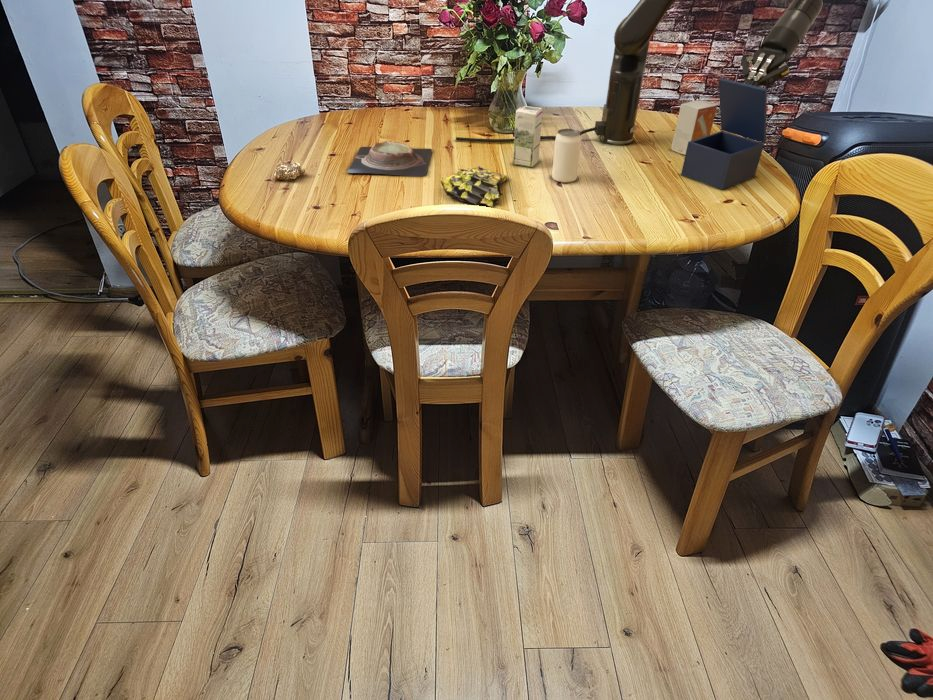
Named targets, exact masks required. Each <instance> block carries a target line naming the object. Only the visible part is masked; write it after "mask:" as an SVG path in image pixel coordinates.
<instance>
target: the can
mask: <svg viewBox="0 0 933 700" xmlns="http://www.w3.org/2000/svg"><path fill="white" fill-rule="evenodd" d="M580 132H581V131H580V130H578V129H575V128H560V129H558V130H557V134H556V135H555V136H556V139H554V150H553V160H552V161H553V162H552V169H551V170H552V171H551V178H552V179H553V180H554V181H555V182H558V183H561V184H570V183H574V182H575V181H576V180H577V179H578V171H579V164H580V155H581V147H582V146H581V145H582V137H581V136H582V135H581V136H580Z"/></svg>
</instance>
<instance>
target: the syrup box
mask: <svg viewBox="0 0 933 700" xmlns="http://www.w3.org/2000/svg"><path fill="white" fill-rule="evenodd" d="M542 120H543V107H536V106H529V105H521V106H520V107H518V108H517V109H516V110H515V120H514V137H513V139H514V142H513V159H512V164H513V165H515V166H520V167H525V168H534V166H536V164H538V163H539V160H540V148H541V147H540V146H541V140H540V136H542V135H541V134H542V133H541V132H542V122H543V121H542Z"/></svg>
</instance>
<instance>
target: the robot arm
mask: <svg viewBox="0 0 933 700" xmlns="http://www.w3.org/2000/svg"><path fill="white" fill-rule="evenodd" d="M676 2H677V0H639V1H638V2H637V4H635V6H634V7H633V9H632V10H631V11H630V12H629V13H628V15H627V16H625V17H624V18H622V20H621V21H620V22H619V24H618V26H617V27H616V29H615V32H614V36H613V43H614V50H613V57H612V63H611V66H610V70H609V76H608V77H609V78H608V86H607V91H606V93H607V94H606V101H605V103H604V104H603V108H602V109H603V110H602V116H601V120H596V121H595V124H594V126H593V127H590V128H587V129H584V130H581V131H580V136H582V135H584V134H586V133H590V132H594V133H595V135H596V136H597V137H599V138H600V140H601V142H602V143H603V144H610V145H617V146H623V145H624V146H625V145H629V144H631V143H633V141H634V135H635V133H634V132H635V131H636V130H637V125H636V122H637V115H638V110H639V104H640V97H641V91H642V86H643V80H644V74H645V71H646V65H647V60H648V53H649V49H650V48H649V47H650V42H651V37H652V36H653V34H654V32H655V30H656V29H657V27H658V26H659V24H660V22H661V21H662V19H663V17H664V16H665V15H666V13H668V11H669V10H670V8H671V7H672V6H673V5H674V4H675V3H676ZM823 5H824V2H823V0H792V1H791V3H790V4H789V6H788V7H787V8H786V10H785V11H784V12H783V13H782V15H781V16H780V17H779V19H778V20H777V21H776V22H775V24H774V25H773V27H772V28H771V29H770V31H769V33H768V34H767V35H766V36H765V38H764V40H763V41H762V43H761V44H760V46H759V49H757V50H756V51H754V53H753V54H752V55H751V56H748V57H747V56H746V55H745V56H742V57H741V58H740V60H741V70H742V76H743V79H744V83H745V84H749V85H753V86H758V87H761V86H764V87H769V86H770V85H772V84H774V83H776V82H778V81H779V80H782V79H784V78H785V77H787V76H789V75H790V73H791V71H790V68H789V67H790V66H789V65H788V60H789V59H790V58H791V57H792V55H793V54H794V52H795V50H796V49H797V48H798V47H799V45H800V43H801V42H802V41H803V40H804V38H805V36H806V35H807V33H808V31H809V29H810V28H811V26H812V25H813V24H814V22H815V20H816V19H817V18H818V16H819V14H820V13H821V11H822V9H823ZM752 64H753V66H752ZM751 66H752V67H751ZM750 67H751V72H750ZM556 136H557V135H540V141H541V140H555V139H556ZM455 141H460V142H475V143H476V142H479V143H514V138H475V137H462V136H461V137H460V136H456V137H455Z"/></svg>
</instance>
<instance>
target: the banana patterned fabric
mask: <svg viewBox="0 0 933 700" xmlns="http://www.w3.org/2000/svg"><path fill="white" fill-rule="evenodd" d="M508 176H509V175H508V174H502V173H499V172H495V171H492V170H491V169H486V168H485V167H482V166H481V165H478V166H477V165H476V166H475V167H473V168H468V169H465V170H458V171H457V172H456V173H454V174H453V175H449V176H447V177H441V179H440V184H441V186H442V188H443V190H444V192H445V194H446V196H449V197H451V198H453V199H456V200H458V201H460V202H465V203H467V204H470V205H475V206H478V205H481V204H484V205H486V206H488V207H490V208H493V206H494V203H497V202H499V200H500V199H501V198H500V196H503V193H502V191H501V187H500V186H501V185H502V184H503V183H504V182H506V181H507V180H508Z"/></svg>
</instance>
